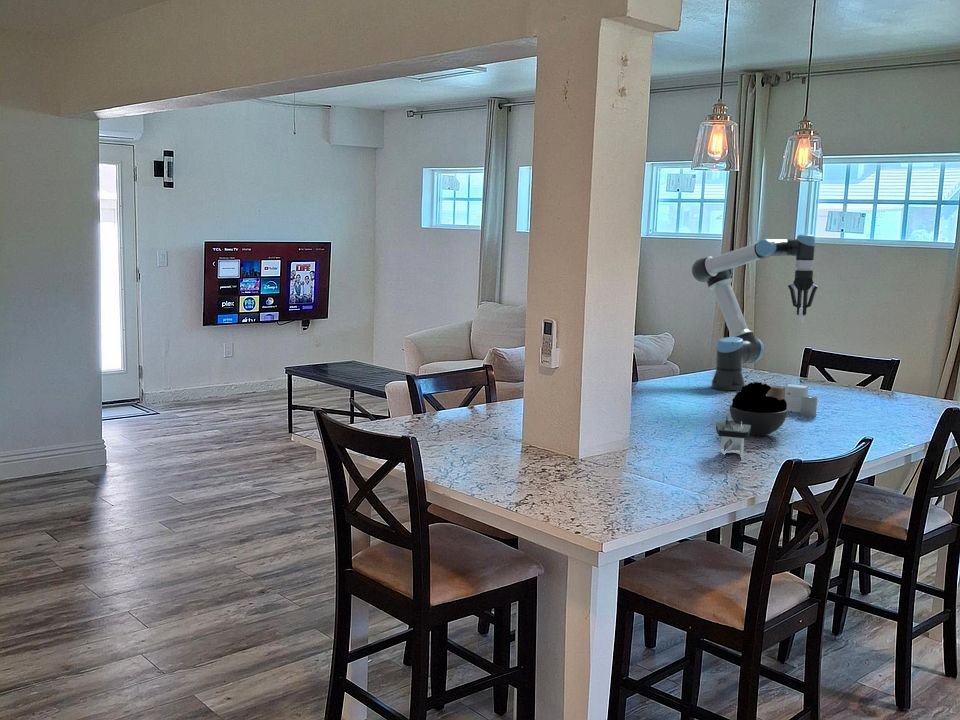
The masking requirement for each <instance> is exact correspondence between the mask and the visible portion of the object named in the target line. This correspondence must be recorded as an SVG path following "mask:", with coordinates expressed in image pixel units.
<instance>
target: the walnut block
mask: <svg viewBox="0 0 960 720" xmlns="http://www.w3.org/2000/svg"><path fill="white" fill-rule="evenodd" d="M770 386H771V389H770V390H769V391H768V393H767V395H766V396H768V397H775V398H778V400H782V399H784V400H785V386H781V385H775V384H774V385H773V384H772V385H770Z"/></svg>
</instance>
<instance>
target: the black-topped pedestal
mask: <svg viewBox="0 0 960 720" xmlns="http://www.w3.org/2000/svg"><path fill="white" fill-rule="evenodd" d="M735 422H738V421H733V420H729V415H728V414H727V415H726V417H725V419H724V421H723V422H719V421H717V422H716V423H715V430H716V433H717V436H719V437H721V438H720V440H721V441H720V450H721V449H724V451H725V450H726V449H727V450H726V451H730V450H740V454H739V457H741V455H742V453H743V454H744V451H745V450H744V449H745V446H744V445H745V439H746V438H749V435H751V434H750V432H751V425H746V424H742V421H741V422H740V424H738V423H737V424H736V423H735Z"/></svg>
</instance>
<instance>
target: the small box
mask: <svg viewBox="0 0 960 720" xmlns="http://www.w3.org/2000/svg"><path fill="white" fill-rule="evenodd" d="M784 387H785V401H786V403H787V410H788V412H790V411H792V413H799V412H800V410H801V396H803V395H808V394H809V386H808V385H802V384H801V385H800V384H792V383H791V384H789V383H788V384H787V385H785V386H784Z"/></svg>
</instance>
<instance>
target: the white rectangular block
mask: <svg viewBox="0 0 960 720" xmlns="http://www.w3.org/2000/svg"><path fill="white" fill-rule="evenodd" d="M817 407H818V396H817V395H816V396H815V395H803V396H801V410H800V415H799V416H800V417H801V416H803V417H802V418H805V417H815V418H817V409H818V408H817Z"/></svg>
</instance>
